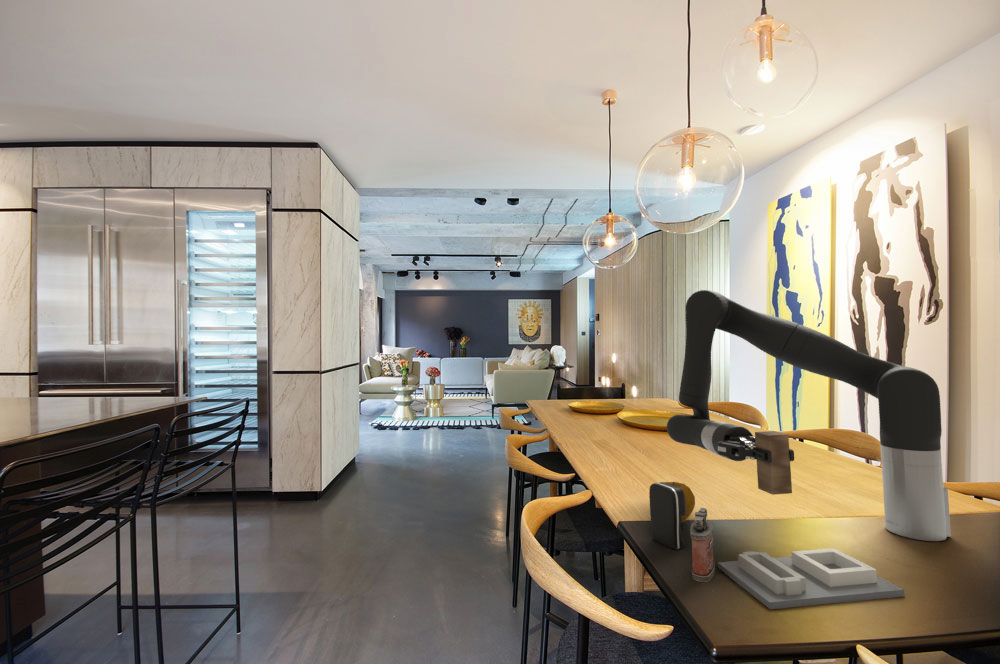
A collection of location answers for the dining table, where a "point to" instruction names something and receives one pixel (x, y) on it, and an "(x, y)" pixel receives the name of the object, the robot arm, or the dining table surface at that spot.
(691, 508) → the apple
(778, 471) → the tall brown wooden block
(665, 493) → the battery charger
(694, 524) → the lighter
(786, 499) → the dining table surface
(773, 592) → the holder board
